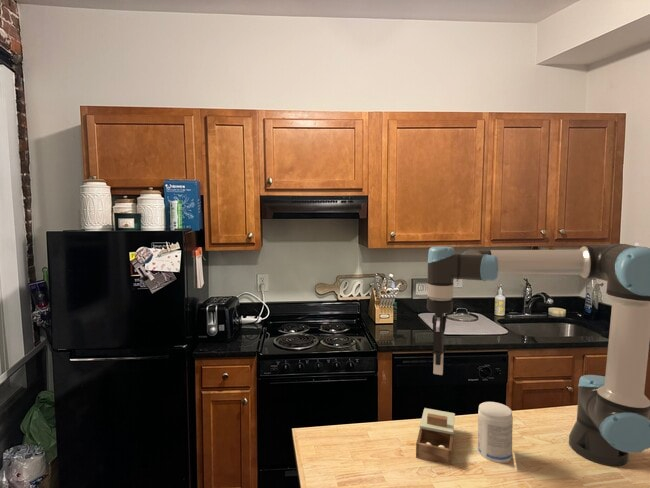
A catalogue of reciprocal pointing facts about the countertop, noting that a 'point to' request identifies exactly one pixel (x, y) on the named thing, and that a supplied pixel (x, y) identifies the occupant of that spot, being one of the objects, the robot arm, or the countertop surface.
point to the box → (434, 446)
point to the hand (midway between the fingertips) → (438, 373)
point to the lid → (437, 421)
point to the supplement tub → (495, 432)
